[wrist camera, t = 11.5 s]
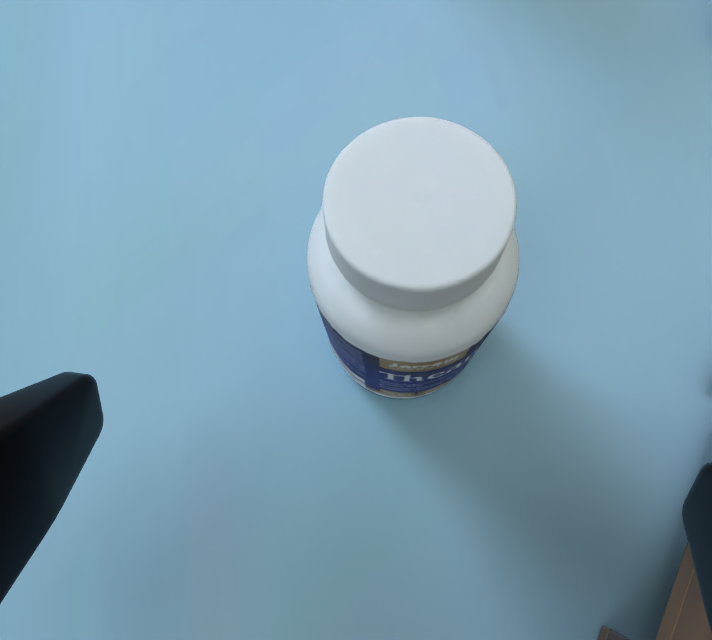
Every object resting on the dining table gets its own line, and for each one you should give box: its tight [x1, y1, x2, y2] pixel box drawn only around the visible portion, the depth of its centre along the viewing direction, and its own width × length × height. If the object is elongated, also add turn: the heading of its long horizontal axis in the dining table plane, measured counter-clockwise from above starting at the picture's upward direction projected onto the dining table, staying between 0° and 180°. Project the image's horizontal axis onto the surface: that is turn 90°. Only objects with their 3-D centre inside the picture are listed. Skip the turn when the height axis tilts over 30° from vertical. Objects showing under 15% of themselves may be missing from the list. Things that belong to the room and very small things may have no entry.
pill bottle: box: [307, 117, 519, 399], centre depth 16 cm, size 5×5×10 cm
